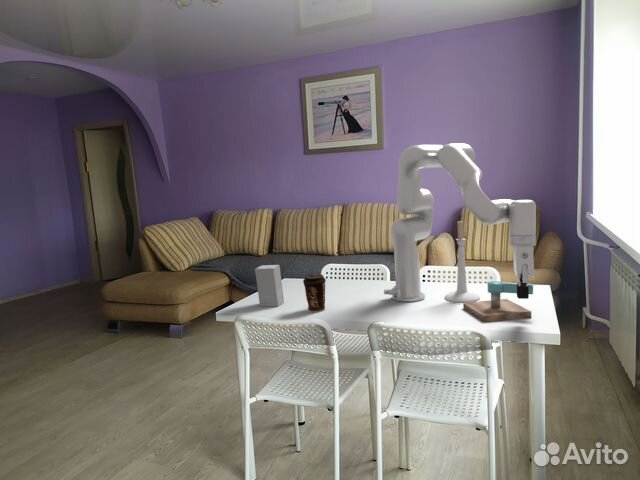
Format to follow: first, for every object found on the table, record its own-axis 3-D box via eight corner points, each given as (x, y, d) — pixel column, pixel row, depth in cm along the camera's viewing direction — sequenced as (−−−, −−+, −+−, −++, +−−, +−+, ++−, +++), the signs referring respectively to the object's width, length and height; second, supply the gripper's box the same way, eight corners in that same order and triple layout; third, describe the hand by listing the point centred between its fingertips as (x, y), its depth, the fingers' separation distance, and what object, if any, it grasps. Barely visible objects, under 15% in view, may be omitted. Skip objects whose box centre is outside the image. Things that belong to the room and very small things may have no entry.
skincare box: (284, 302, 186) (281, 264, 184) (277, 307, 180) (274, 267, 178) (265, 302, 189) (262, 264, 187) (257, 306, 183) (254, 267, 181)
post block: (483, 321, 147) (483, 300, 146) (463, 308, 163) (462, 289, 162) (531, 317, 149) (531, 296, 148) (506, 304, 165) (506, 285, 164)
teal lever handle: (486, 292, 154) (486, 283, 154) (489, 289, 158) (488, 280, 158) (532, 295, 147) (532, 286, 147) (533, 292, 151) (533, 282, 151)
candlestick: (470, 304, 167) (468, 222, 164) (438, 299, 176) (436, 221, 172) (485, 296, 177) (484, 218, 173) (454, 292, 185) (452, 218, 182)
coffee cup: (306, 307, 178) (303, 274, 176) (327, 306, 177) (325, 272, 176) (304, 313, 169) (302, 279, 167) (327, 312, 169) (325, 277, 167)
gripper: (539, 243, 134) (539, 304, 137) (532, 236, 148) (532, 292, 151) (511, 243, 136) (512, 304, 139) (507, 237, 151) (507, 291, 153)
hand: (522, 297), depth 145 cm, fingers closed
